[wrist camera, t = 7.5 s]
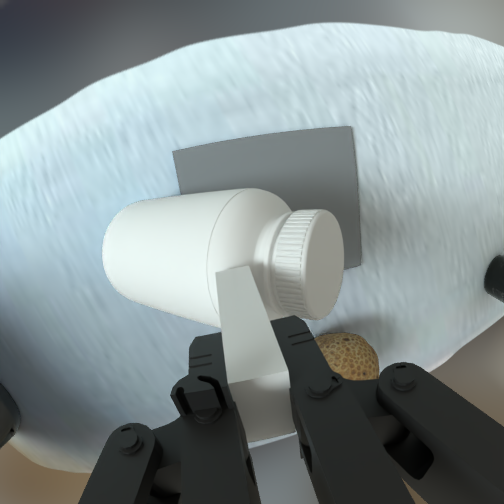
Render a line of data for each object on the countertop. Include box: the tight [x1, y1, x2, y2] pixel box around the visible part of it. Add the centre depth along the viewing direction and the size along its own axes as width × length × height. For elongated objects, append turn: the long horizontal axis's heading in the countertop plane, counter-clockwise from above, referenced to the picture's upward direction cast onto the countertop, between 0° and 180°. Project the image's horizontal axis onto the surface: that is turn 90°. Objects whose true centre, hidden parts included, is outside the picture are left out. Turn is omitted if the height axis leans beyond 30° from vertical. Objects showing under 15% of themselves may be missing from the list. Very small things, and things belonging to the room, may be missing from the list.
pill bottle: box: [102, 188, 344, 328], centre depth 18 cm, size 8×8×15 cm
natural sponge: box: [314, 333, 379, 380], centre depth 28 cm, size 9×9×10 cm
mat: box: [172, 126, 361, 270], centre depth 27 cm, size 16×14×1 cm
